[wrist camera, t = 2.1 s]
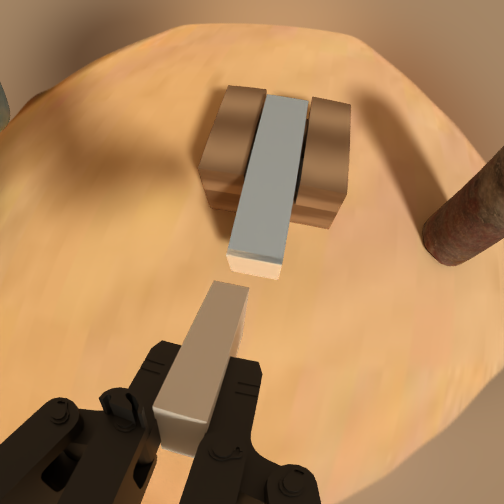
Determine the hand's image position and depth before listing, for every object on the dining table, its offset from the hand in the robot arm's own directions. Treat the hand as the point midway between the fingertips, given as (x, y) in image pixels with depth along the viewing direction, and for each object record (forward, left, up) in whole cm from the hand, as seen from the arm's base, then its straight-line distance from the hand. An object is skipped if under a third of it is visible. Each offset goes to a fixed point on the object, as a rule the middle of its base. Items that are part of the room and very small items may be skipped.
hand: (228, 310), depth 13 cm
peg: (-7, +12, -15) cm, 21 cm away
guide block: (-10, +17, -20) cm, 28 cm away
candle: (+12, +25, -20) cm, 34 cm away
